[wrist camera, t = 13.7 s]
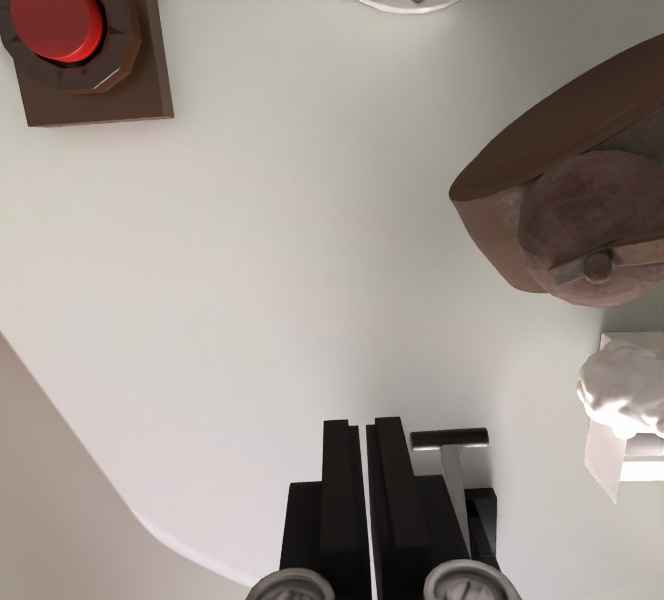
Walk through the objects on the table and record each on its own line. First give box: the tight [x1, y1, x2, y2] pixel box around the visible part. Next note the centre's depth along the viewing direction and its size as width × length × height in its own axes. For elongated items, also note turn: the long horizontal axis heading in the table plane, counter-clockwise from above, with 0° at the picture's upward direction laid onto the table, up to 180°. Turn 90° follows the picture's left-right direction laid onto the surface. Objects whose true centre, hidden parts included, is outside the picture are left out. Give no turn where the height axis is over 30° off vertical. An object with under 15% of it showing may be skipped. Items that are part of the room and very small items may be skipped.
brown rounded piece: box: [449, 33, 664, 307], centre depth 25 cm, size 15×7×20 cm, turn 126°
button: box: [10, 0, 104, 63], centre depth 28 cm, size 4×4×2 cm
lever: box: [410, 428, 489, 559], centre depth 35 cm, size 13×5×2 cm, turn 4°
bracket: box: [464, 488, 501, 572], centre depth 37 cm, size 6×8×11 cm
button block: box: [0, 0, 174, 127], centre depth 30 cm, size 10×8×4 cm
